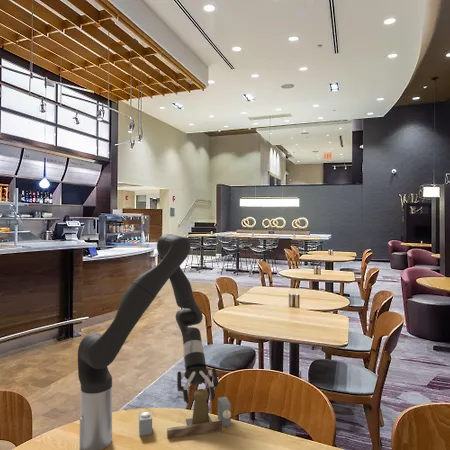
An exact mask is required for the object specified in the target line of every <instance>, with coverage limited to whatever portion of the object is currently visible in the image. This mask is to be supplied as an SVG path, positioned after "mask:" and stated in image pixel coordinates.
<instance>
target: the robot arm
mask: <svg viewBox="0 0 450 450" xmlns="http://www.w3.org/2000/svg"><path fill="white" fill-rule="evenodd" d="M191 247H192V245H191V242H190V240H189V239H188V238H186V237H185V236H184V237H183V236H180V235H176V234H169V233H164V234H163V235H160V236H159V238H158V240H157V242H156V250H157V254H158V256H159V259H160V262H158V264H156V265H155V266H153V267H152V268H150V269H149V270H147V271H145V272H144V273H142V274H141V275H139V276H138V277H137V278H135V279H134V280H133V281H132V283H131V284H130V285H129V286H128V288H127V289H126V290H125V292H124V293H123V295H122V297H121V299H120V300H119V305H118V307H117V311H116V314H115V317H114V319H113V321H112V322H111V323H110V325H109V326H108V327H107V329H106V330H105V331H104V332H103V334H101V333H98V332H97V333H96V332H93V333H89V334H87V335H86V336H84V337H83V338H82V340H81V341H80V342H79V345H78V349H77V374H78V381H79V384H80V417H79V450H104V449H105V448H108V447H109V446H110V445H111V444H112V443H113V376H112V374H111V372H110V370H109V368H108V367H109V366H110V365H111V364H112V363H113V362H114V361H115V359H116V358H117V356H118V354H119V353H120V350H121V349H122V347H123V346H124V343H125V342H126V340H127V338H128V337H129V335H130V334H131V332H132V331H133V329H134V328H135V327H136V325H137V323H139V320H140V319H141V318H142V316H143V315H144V314H145V312H146V311H147V310H148V308H149V307H150V306H151V304H152V303H153V301H154V300H155V298H156V297H157V295H158V294H159V292H160V291H161V289H162V288H163V287H164V286H165V285H166V283H167V282H168V280H169V282H170V284H171V288H172V290H173V295H174V298H175V303H176V305H177V308H180V309H179V310H177V311H176V312H175V322H176V324H177V325H178V328H179V330H180V333H181V337H182V344H183V350H182V351H183V358H184V359H183V360H184V361H183V362H184V369H185V371H184V372H182V371H178V372H177V375H176V385H177V386H176V388H177V392H181V393H182V395H183V402H184V403H185V404H186V405H187V404H189V401H190V400H189V391H188V389H189V387H190V386H191V385H194V386H195V385H202V384H203V385H205V386H206V387H207V388H208V389H209V390H208V391H209V392H208V393H209V398H210V401H211V402H212V401H214V399H215V398H216V393H215V388H217V387H218V386H219V384H220V382H219V379H218V375H217V374H218V373H217V370H216V368H215V367H214V368H212V369H208V368H207V365H206V364H207V363H206V357H205V356H206V355H205V351H204V349H205V348H204V345H203V341H202V334H201V331H200V329H199V328H197V327H194V326H195V325H199V324H201V323H202V321H203V317H204V316H203V312H202V310H201V308H200V307H199V305H198V304H197V302H196V300H195V297H194V293H193V289H192V285H191V282H190V281H189V279H188V277H187V276H186V274H185V273H184V271H183V270H182V267H181V265H182V264H183V263H184V262H185V261H186V259H187V258H188V256H189V255H190V251H191ZM191 326H193V327H191ZM208 375H209V377H211V378H212V381H211V380H210V378H209V377H208ZM184 377H185V379H186V380H187V381H186V383H184V384H185V385H184V386H182V380H183V379H184Z"/></svg>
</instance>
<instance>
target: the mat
mask: <svg viewBox="0 0 450 450" xmlns="http://www.w3.org/2000/svg"><path fill="white" fill-rule="evenodd" d="M209 422H213V420H212V419H211V417H210V415H209ZM185 424H186V425H192V418H186V419H185Z"/></svg>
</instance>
